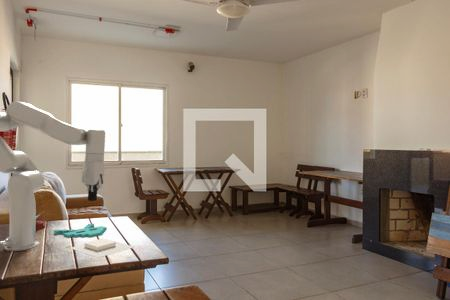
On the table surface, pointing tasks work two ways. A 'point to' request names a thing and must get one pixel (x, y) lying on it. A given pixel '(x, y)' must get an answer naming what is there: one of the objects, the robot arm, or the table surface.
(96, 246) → the tile
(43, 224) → the canned food
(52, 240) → the table surface
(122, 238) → the table surface
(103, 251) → the mat
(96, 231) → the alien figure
